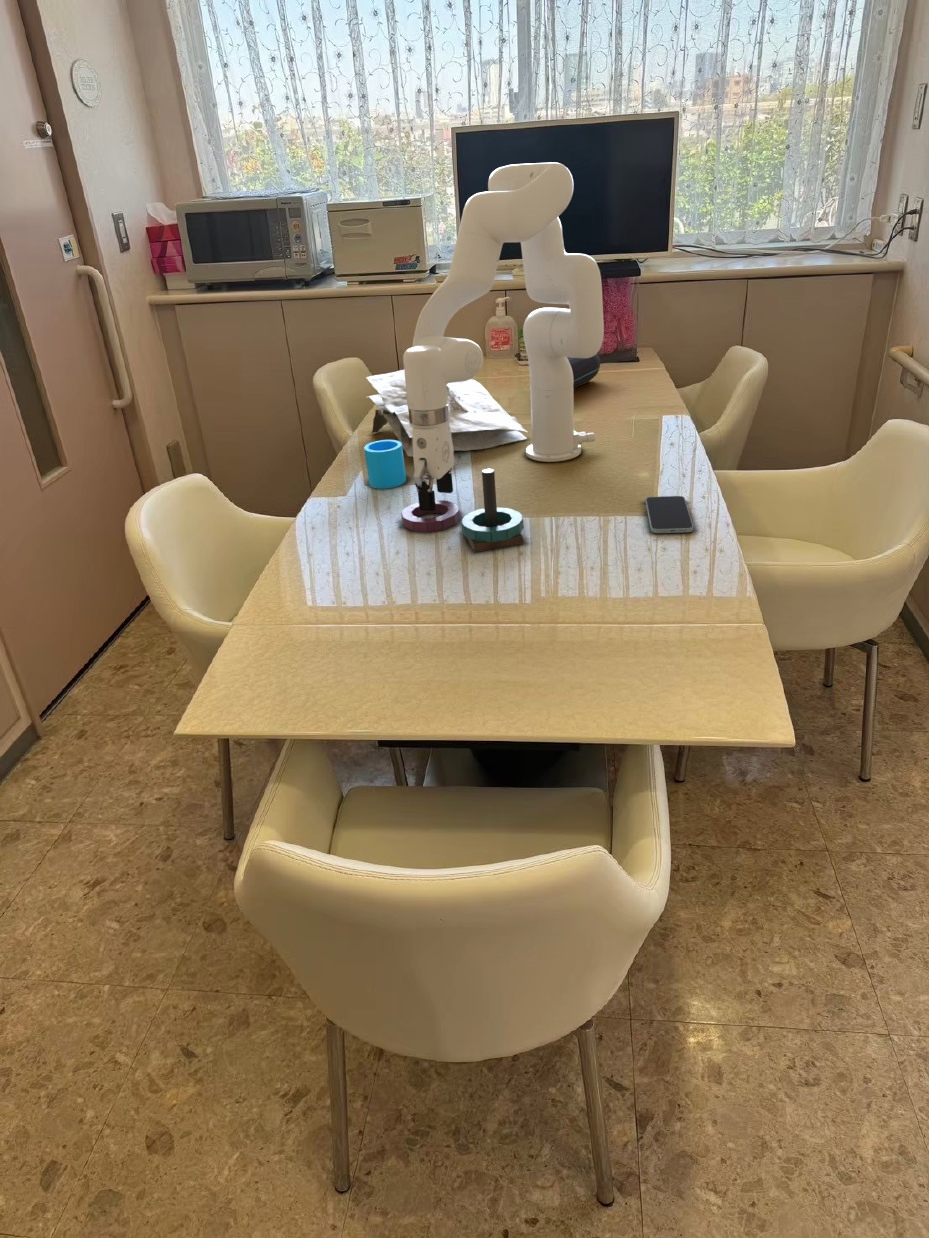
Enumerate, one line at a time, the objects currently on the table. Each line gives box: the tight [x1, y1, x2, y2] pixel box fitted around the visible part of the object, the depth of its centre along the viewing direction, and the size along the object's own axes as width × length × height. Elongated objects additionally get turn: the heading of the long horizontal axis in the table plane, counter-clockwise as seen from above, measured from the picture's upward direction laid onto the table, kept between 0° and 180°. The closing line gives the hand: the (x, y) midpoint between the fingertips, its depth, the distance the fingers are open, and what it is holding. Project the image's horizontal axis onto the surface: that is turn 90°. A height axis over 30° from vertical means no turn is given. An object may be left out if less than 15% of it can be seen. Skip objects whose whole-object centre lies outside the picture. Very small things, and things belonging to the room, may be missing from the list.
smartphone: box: [645, 495, 694, 534], centre depth 153 cm, size 7×1×15 cm
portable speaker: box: [567, 353, 601, 390], centre depth 234 cm, size 25×10×10 cm, turn 144°
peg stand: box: [465, 468, 524, 553], centre depth 148 cm, size 9×9×13 cm
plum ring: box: [400, 499, 461, 533], centre depth 161 cm, size 11×11×2 cm
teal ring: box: [460, 507, 525, 542], centre depth 151 cm, size 11×11×2 cm
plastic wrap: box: [365, 369, 528, 457], centre depth 206 cm, size 35×16×32 cm
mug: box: [363, 439, 407, 489], centre depth 181 cm, size 12×8×8 cm
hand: (436, 501), depth 163 cm, fingers open, 9 cm apart
